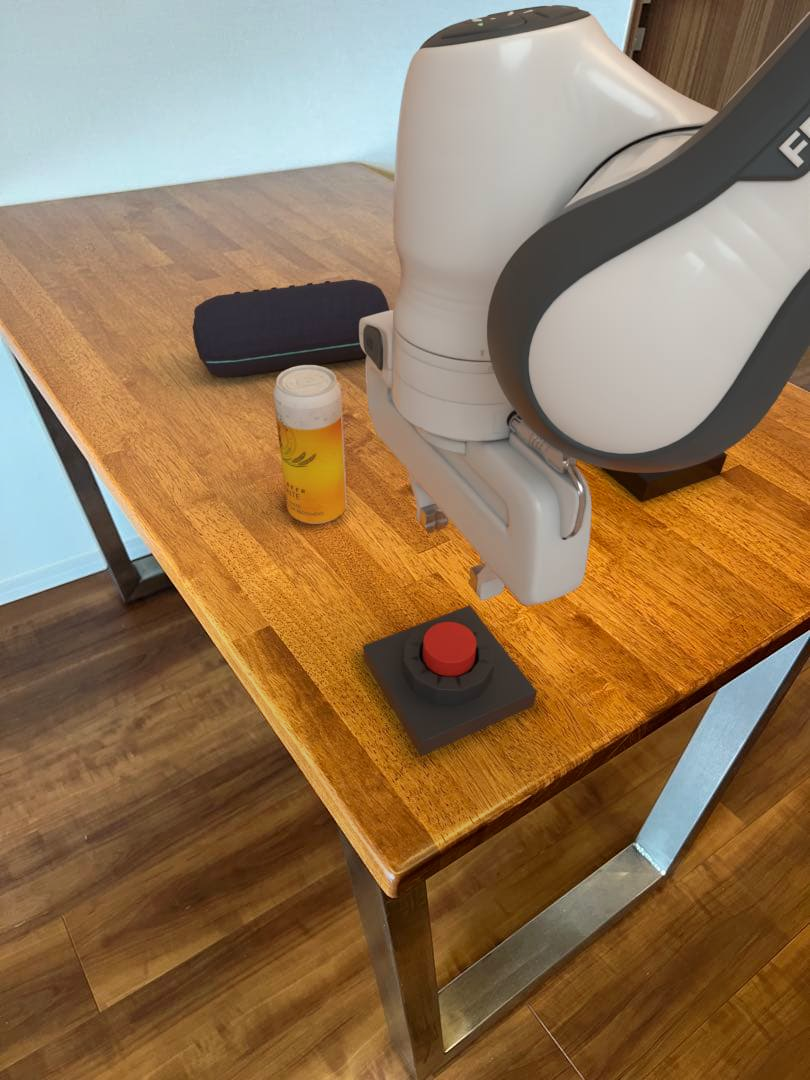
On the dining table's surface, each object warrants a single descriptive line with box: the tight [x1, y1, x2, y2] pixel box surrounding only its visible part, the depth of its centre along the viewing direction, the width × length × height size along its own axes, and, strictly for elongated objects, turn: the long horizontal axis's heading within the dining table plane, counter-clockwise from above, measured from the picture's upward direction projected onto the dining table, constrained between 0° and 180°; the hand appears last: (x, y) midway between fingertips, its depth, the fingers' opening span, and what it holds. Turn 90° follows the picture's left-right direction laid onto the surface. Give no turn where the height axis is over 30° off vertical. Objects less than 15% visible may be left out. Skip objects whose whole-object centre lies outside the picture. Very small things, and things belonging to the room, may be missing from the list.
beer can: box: [272, 365, 348, 525], centre depth 70 cm, size 6×6×15 cm
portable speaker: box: [191, 278, 390, 377], centre depth 94 cm, size 25×10×10 cm, turn 109°
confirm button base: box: [362, 605, 538, 757], centre depth 57 cm, size 10×10×4 cm
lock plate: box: [600, 452, 728, 503], centre depth 81 cm, size 14×11×3 cm
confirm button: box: [423, 622, 476, 677], centre depth 56 cm, size 4×4×2 cm
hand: (457, 556), depth 49 cm, fingers open, 6 cm apart
